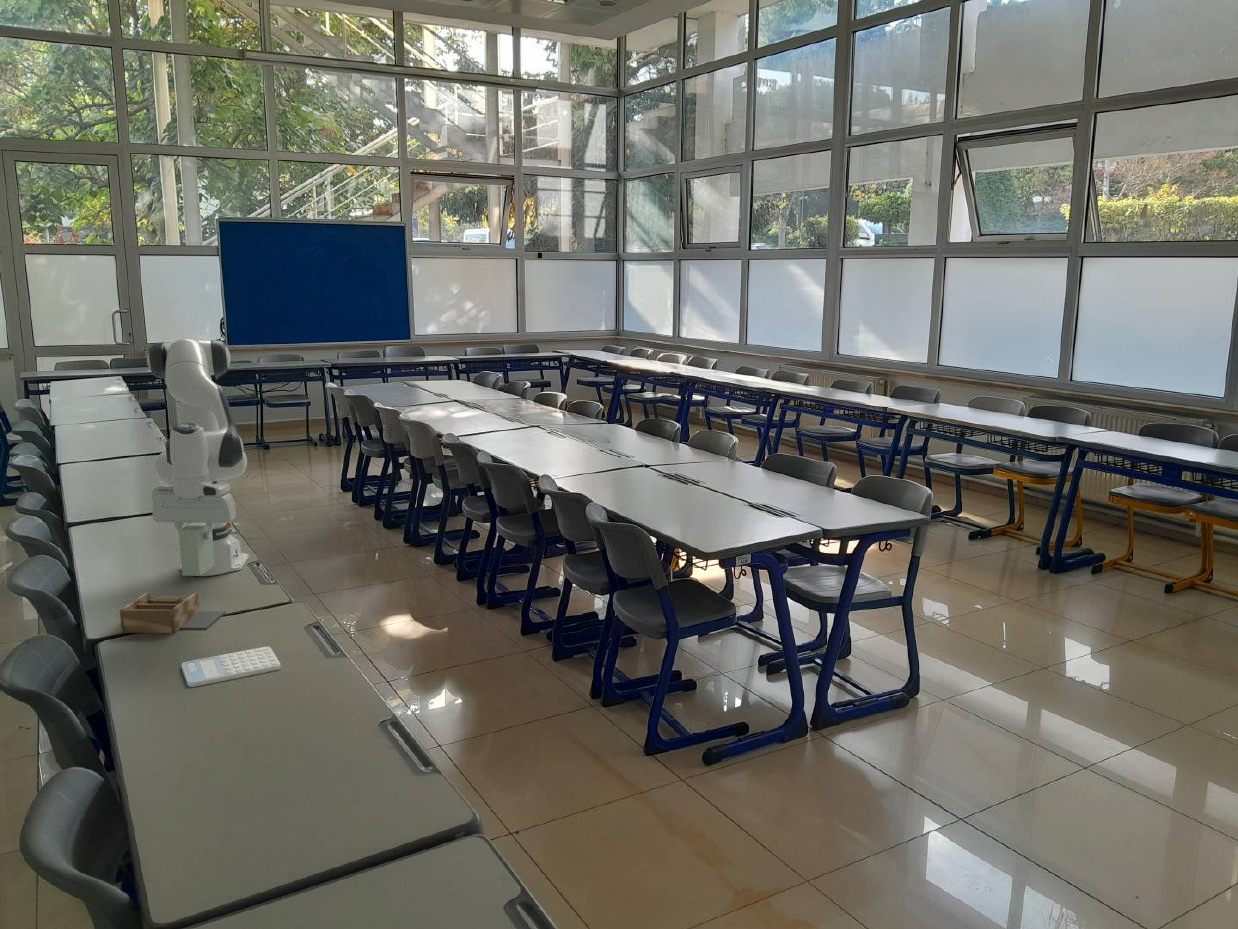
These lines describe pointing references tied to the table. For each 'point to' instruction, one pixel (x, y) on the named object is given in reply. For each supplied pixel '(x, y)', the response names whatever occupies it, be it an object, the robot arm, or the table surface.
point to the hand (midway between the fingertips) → (196, 538)
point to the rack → (157, 615)
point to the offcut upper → (168, 600)
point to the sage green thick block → (195, 550)
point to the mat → (203, 620)
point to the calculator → (229, 666)
